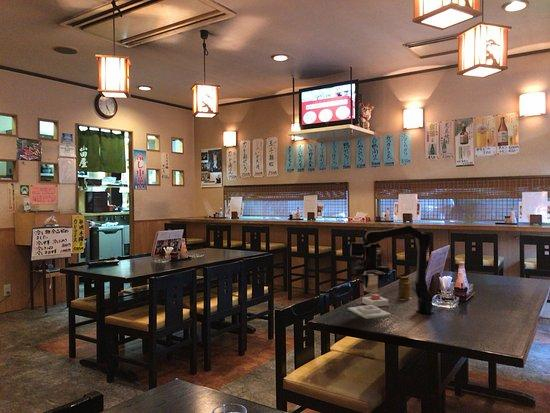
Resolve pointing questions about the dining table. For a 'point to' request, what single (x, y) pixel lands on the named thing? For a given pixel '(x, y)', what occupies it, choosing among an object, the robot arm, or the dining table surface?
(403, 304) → the dining table surface
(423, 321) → the dining table surface
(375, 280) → the block
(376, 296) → the button
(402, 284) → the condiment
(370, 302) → the button housing
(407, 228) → the robot arm
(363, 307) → the tray
